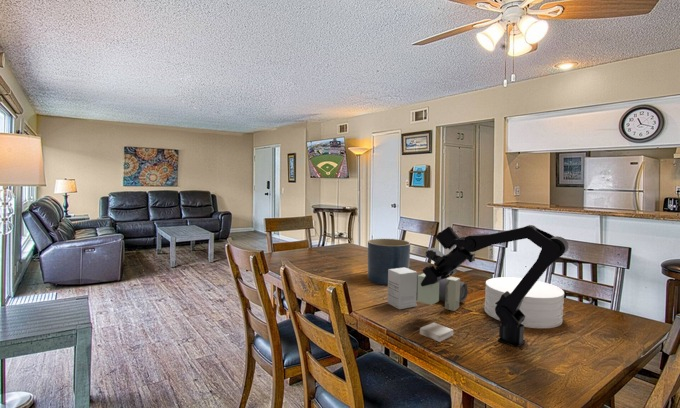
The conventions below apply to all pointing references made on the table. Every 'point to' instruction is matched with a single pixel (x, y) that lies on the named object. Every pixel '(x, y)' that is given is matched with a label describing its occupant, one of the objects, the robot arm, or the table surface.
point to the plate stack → (528, 301)
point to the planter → (386, 258)
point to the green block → (427, 292)
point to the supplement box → (402, 288)
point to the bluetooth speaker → (443, 289)
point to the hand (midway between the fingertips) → (425, 283)
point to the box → (452, 293)
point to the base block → (436, 332)
